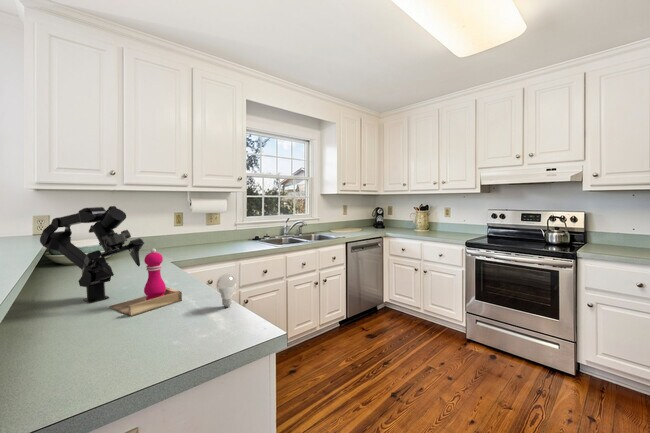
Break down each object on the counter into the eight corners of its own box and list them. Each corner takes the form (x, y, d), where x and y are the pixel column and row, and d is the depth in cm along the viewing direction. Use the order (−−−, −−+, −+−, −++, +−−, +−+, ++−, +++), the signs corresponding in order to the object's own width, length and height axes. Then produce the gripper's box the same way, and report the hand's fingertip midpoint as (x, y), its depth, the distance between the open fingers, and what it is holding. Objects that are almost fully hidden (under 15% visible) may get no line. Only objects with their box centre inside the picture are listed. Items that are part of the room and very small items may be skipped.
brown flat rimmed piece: (109, 307, 110) (109, 297, 110) (159, 293, 125) (159, 285, 125) (131, 316, 101) (130, 306, 101) (182, 300, 116) (181, 291, 116)
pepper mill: (166, 302, 113) (163, 249, 111) (143, 305, 110) (140, 250, 108) (166, 296, 119) (164, 246, 118) (145, 299, 116) (142, 247, 115)
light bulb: (219, 303, 113) (218, 272, 112) (238, 303, 113) (237, 271, 112) (214, 310, 106) (213, 277, 105) (234, 310, 106) (233, 276, 105)
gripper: (81, 232, 102) (103, 271, 100) (138, 218, 117) (158, 252, 116) (75, 247, 108) (96, 284, 106) (130, 232, 124) (149, 264, 122)
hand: (126, 270), depth 112 cm, fingers open, 9 cm apart
